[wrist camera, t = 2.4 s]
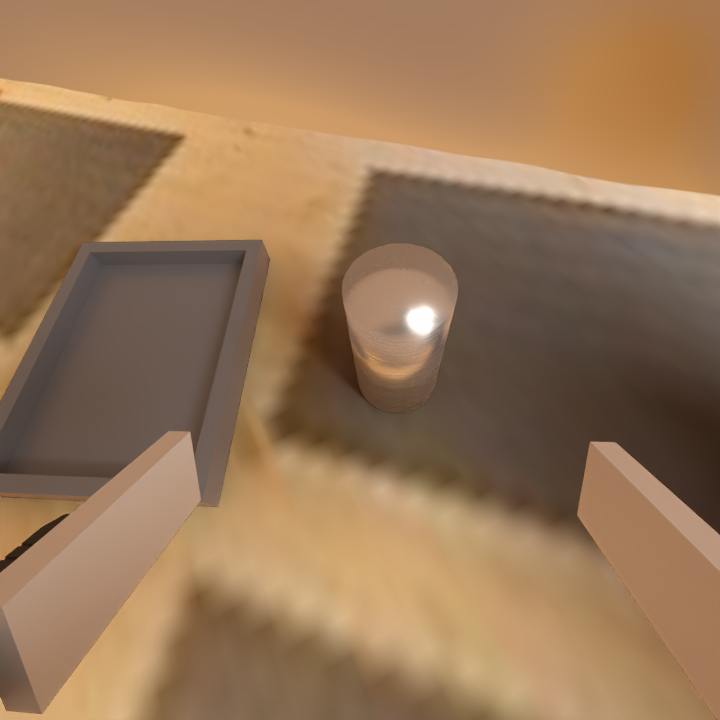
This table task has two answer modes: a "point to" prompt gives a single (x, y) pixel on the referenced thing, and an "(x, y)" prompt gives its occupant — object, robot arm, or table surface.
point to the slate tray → (133, 365)
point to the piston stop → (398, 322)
